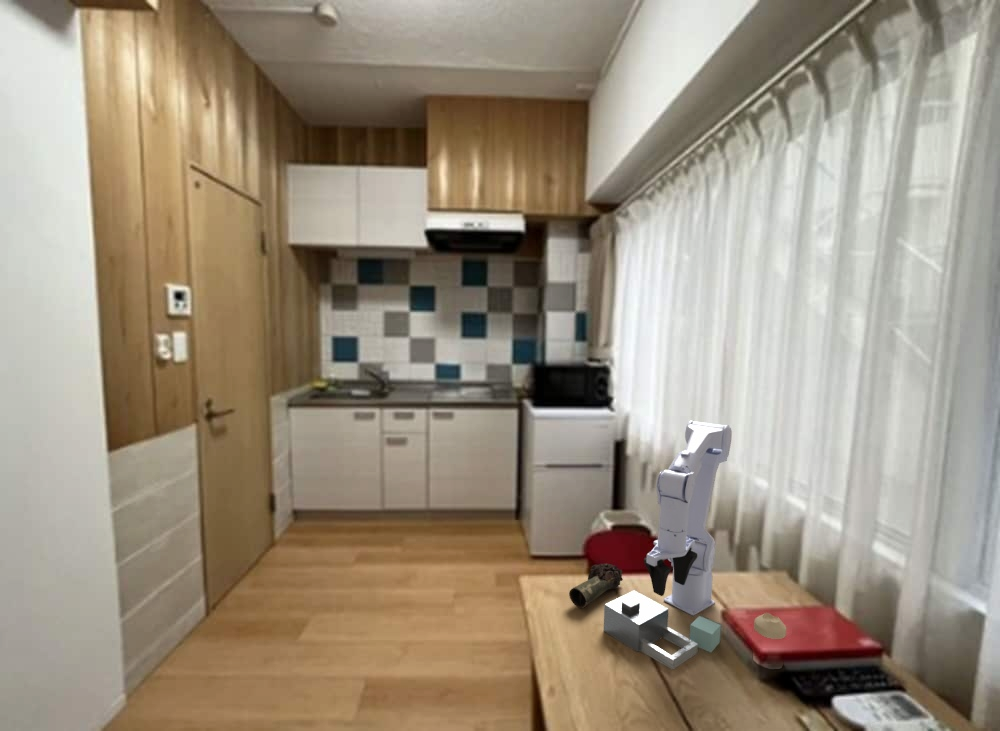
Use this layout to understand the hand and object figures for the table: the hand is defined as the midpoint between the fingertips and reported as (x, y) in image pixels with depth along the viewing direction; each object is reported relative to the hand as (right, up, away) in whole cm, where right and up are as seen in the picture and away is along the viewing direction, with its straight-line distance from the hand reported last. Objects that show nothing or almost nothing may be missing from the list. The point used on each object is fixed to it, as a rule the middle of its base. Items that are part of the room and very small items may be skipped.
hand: (669, 588), depth 109 cm
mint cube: (+5, -8, -5) cm, 11 cm away
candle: (+16, -11, -9) cm, 22 cm away
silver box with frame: (-4, -10, -2) cm, 11 cm away
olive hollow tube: (-17, -11, +11) cm, 23 cm away
